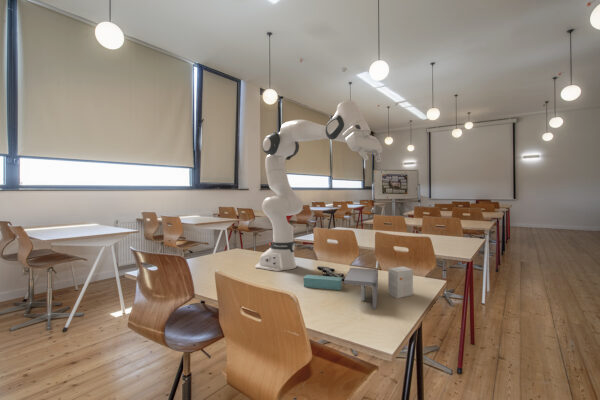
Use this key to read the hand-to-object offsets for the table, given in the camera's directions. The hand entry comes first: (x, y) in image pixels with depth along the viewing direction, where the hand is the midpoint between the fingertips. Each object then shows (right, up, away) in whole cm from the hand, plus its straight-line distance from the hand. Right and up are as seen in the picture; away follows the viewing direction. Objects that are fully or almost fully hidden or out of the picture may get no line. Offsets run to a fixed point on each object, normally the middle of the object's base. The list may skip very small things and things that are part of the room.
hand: (373, 160), depth 122 cm
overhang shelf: (-6, -55, -7) cm, 55 cm away
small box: (+10, -55, -3) cm, 56 cm away
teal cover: (-20, -54, +8) cm, 58 cm away
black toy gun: (-15, -54, +26) cm, 62 cm away
